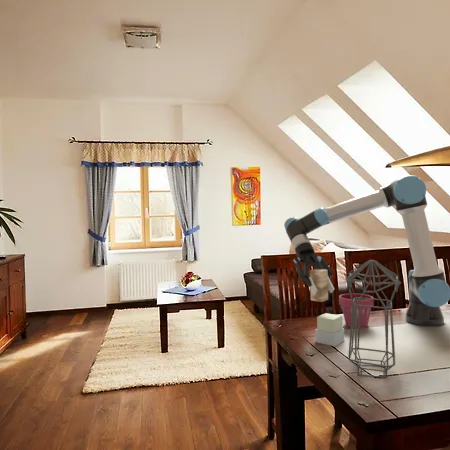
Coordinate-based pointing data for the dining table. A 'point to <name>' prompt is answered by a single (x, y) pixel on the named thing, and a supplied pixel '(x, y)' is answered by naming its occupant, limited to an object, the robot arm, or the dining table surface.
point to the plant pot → (365, 311)
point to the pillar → (320, 284)
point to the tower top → (329, 322)
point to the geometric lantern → (354, 307)
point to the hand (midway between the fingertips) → (323, 291)
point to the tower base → (329, 337)
